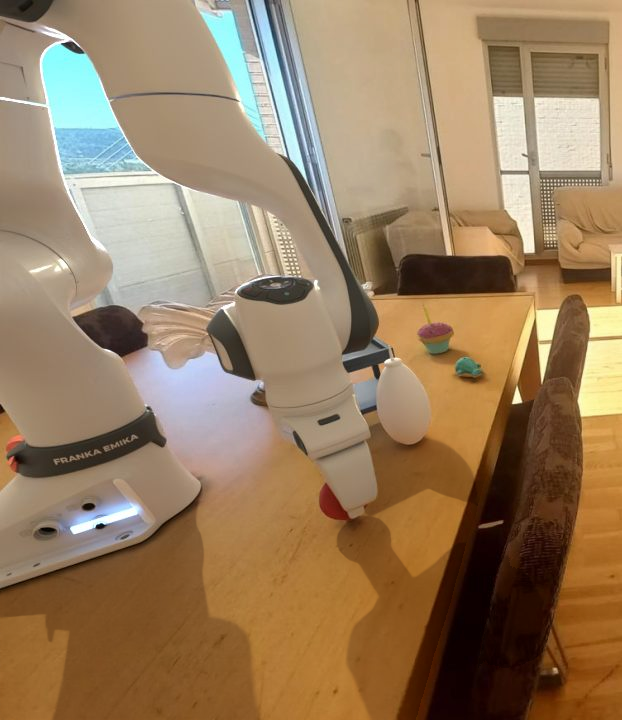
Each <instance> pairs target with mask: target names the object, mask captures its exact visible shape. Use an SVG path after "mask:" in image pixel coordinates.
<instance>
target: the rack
mask: <svg viewBox="0 0 622 720" xmlns="http://www.w3.org/2000/svg"><path fill="white" fill-rule="evenodd" d="M388 345H389V344H388V343H386V342H385V341H384V340H382V339H380V338H379V337H378V336H376V335H375V336H374V338H373V339H372V341H371V342H370V344H369V345H368V347H367V348H366V349H365V350H362V351H358V352H353V353H349V354H344V355H342V363H343V366H344V368H345V370H346V371H347V372H348V374H351V373H354V372H357V371H361V370H364V369H367V368H370V367H371V369H372V373H373V377H372V378H369V379H366V380H363V381H359V382H356V383H352V384H353V388H354V391H355V395H356V397H357V400H358V404H359V407H360V411H361V413H362V415H363V416H364V415H367V414H369V413H372V412H375V411H377V404H376V394H377V386H378V382H379V378H380V375H381V370H380V366H379V365H380V364H381V365H382V364H384V362H385V361H386V360H388V359H390V354H389V349H388ZM390 347H391V350H392V353H393V357H394V358H396V355H395V351H394V348H393V347H392V346H391V345H390Z"/></svg>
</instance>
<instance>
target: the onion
mask: <svg viewBox="0 0 622 720" xmlns="http://www.w3.org/2000/svg"><path fill="white" fill-rule="evenodd" d="M368 505H369V503H368V504H366V505H364V506H363V507H364V510H365V509H366V508H367V507H368ZM318 507H319V509H320V511H321V513H323V514H324V516H326V517H328V518H329V519H333V520H335V521H346V522H351V521H354V520H355V519H356V518H357V517H355V518H350V517H349V516H348V514H347V512H346V511H345V510H344V509H343V507H342V506H341V504H340V502H339V501H338V499H337V498H336V496H335V495H334V493H333V492H332V490H331V489H330V487H329V486H328V484H327V483H326V481H325V482H324V484H323V485H322V487H321V489H320V491H319V495H318Z"/></svg>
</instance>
